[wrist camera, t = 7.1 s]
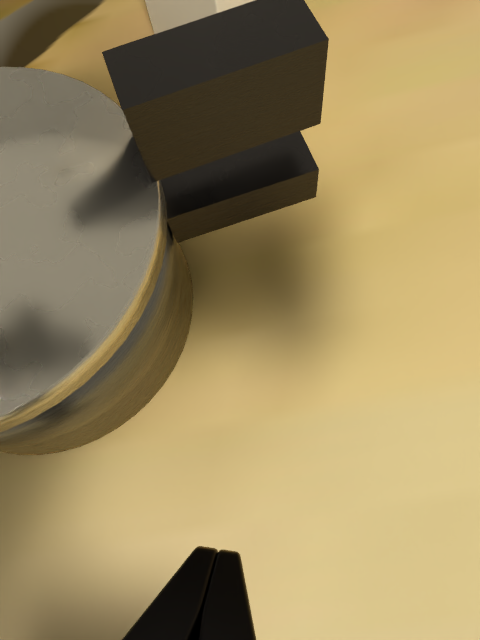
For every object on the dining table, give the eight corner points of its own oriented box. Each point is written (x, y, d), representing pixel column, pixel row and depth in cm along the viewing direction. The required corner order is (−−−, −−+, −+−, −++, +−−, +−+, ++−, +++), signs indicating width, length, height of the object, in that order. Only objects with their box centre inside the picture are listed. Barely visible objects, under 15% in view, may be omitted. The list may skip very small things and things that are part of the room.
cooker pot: (-129, 517, 23) (-293, 526, 16) (-133, 253, 29) (-254, 182, 22) (358, 351, 24) (386, 295, 17) (257, 126, 30) (250, 22, 23)
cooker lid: (-227, 516, 16) (-442, 524, 11) (-215, 162, 22) (-352, 70, 17) (392, 287, 17) (434, 205, 12) (240, 8, 23) (229, -118, 18)
